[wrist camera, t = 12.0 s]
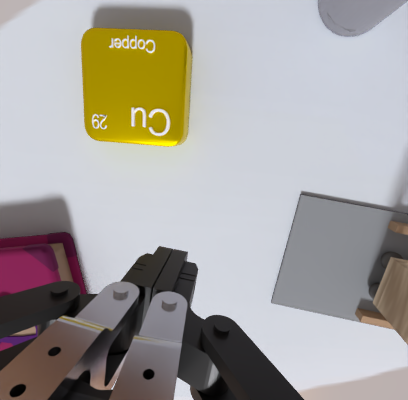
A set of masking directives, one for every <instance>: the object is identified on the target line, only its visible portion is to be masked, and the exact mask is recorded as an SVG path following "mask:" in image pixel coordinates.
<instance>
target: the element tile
mask: <svg viewBox="0 0 408 400" xmlns="http://www.w3.org/2000/svg"><path fill="white" fill-rule="evenodd" d="M81 54H82V77H83V99H84V122H85V129H86V132H87V134H88V135H89V136H90V137H91V138H93V139H94V140H97V141H105V142H118V143H130V144H143V145H155V146H167V147H169V146H177V145H180V144H182V143H183V142H184V141H185V140H186V138H187V135H188V124H189V105H190V87H191V69H192V53H191V50H190V47H189V45H188V43H187V41H186V39H185V38H184V36H183V35H182V34H180V33H178V32H176V31H167V30H141V29H115V28H91V29H89V30H87V31H86V32H85V33H84V34H83V37H82V41H81Z"/></svg>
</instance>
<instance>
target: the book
mask: <svg viewBox="0 0 408 400" xmlns="http://www.w3.org/2000/svg"><path fill="white" fill-rule="evenodd" d="M57 281H71V282H74V283H76V284H78V285H79V287H80V294H87V293H86V289H85V285H84V281H83V278H82V274H81V270H80V266H79V263H78V259H77V253H76V249H75V245H74V241H73V238H72V237H71V235H70V234H68V233H66V232H61V233H50V234H48V235H36V236H25V237H14V238H3V239H0V297H2V296H6V295H9V294H13V293H17V292H20V291H24V290H28V289H31V288H35V287H38V286H42V285H46V284H49V283H53V282H57ZM35 337H37V326H34V327H32V328H29V329H26V330H23V331H21V332H18V333H15V334H13V335H10V336H7V337H4V338H2V339H0V351H2V350H4V349H7V348H9V347H12V346H14V345H17V344H19V343H22V342H25V341H27V340H30V339H32V338H35Z"/></svg>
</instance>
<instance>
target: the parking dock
mask: <svg viewBox="0 0 408 400" xmlns="http://www.w3.org/2000/svg"><path fill="white" fill-rule="evenodd" d="M386 252H396V253H398V254H400V255H401V256H402V257H403V259H404V260H408V214H404V213H399V212H393V211H388V210H383V209H377V208H372V207H366V206H361V205H356V204H350V203H345V202H339V201H334V200H329V199H323V198H318V197H312V196H307V195H302V194H301V195H300V199H299V202H298V206H297V210H296V213H295V217H294V220H293V224H292V228H291V231H290V235H289V239H288V242H287V246H286V250H285V253H284V257H283V260H282V264H281V268H280V271H279V275H278V279H277V282H276V286H275V290H274V293H273V297H272V300H271V303H273V304H278V305H282V306H287V307H292V308H296V309H301V310H306V311H310V312H315V313H319V314H324V315H329V316H333V317H338V318H343V319H347V320H352V321H357V322H361V323H366V324H371V325H375V326H380V327H384V328H389V329H394V328H393V327H392V325H391V324H390V323H389V322H388V321H387V320H386V318H385V317H384V316H383V315H382V314H381V312H380V311H379V310H378V309H377V308H376V306H375V305H374V304H373V299H372V298H371V297H370V295H369V287H370V286H371V285H372V284H374V283H381V280H382V278H383V275H384V273H385V270H386V269H385V268H384V267H383V266H382V264H381V262H380V259H381V256H382V255H383V254H384V253H386ZM394 330H395V329H394Z"/></svg>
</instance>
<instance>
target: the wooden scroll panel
mask: <svg viewBox="0 0 408 400" xmlns="http://www.w3.org/2000/svg"><path fill="white" fill-rule="evenodd" d="M380 262H381V264H382V266H383V267H384V268H385V269H386V270H385V273H384V275H383V278H382V280H381V283H374V284H372V285H371V286H370V287H369V295H370V297H371V298H372V299H373V304H374V305H375V306H376V308H377V309H378V310H379V311H380V312H381V314H382V315H383V316H384V317H385V318H386V320H387V321H388V322H389V323H390V324H391V325H392V327H393V328H394V329H395V330H396V331H397V333H398V334H399V335H400V336H401V337H402V339H403V340H404V341H405V342H406V343H407V345H408V260H404V259H403V257H402V256H401V255H400V254H398V253H396V252H386V253H384V254H383V255H382V256H381V259H380Z"/></svg>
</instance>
